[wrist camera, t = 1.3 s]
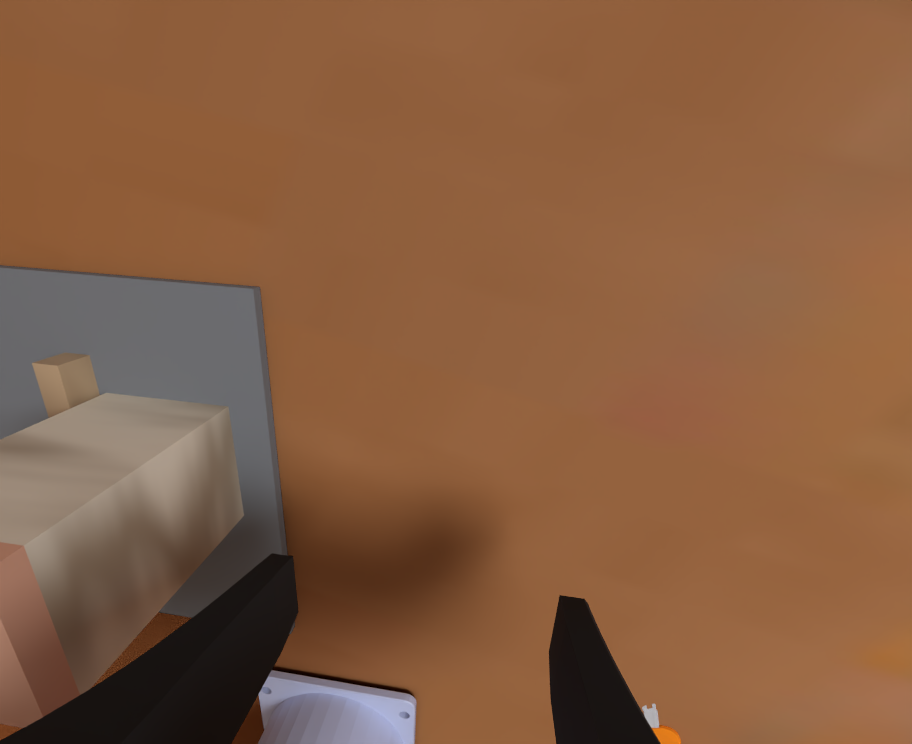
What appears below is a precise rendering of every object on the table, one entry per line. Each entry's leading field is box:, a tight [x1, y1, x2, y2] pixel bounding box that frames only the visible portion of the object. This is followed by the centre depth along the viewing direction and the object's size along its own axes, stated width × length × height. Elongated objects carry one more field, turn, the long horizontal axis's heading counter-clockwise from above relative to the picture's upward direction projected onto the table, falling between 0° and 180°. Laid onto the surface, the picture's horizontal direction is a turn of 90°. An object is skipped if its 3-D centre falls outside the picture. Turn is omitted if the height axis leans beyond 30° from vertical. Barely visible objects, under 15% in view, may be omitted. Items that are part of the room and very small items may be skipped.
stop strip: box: [32, 353, 100, 418], centre depth 17 cm, size 8×1×1 cm, turn 177°
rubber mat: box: [0, 265, 295, 634], centre depth 18 cm, size 16×16×1 cm
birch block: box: [0, 393, 244, 728], centre depth 13 cm, size 5×5×8 cm
